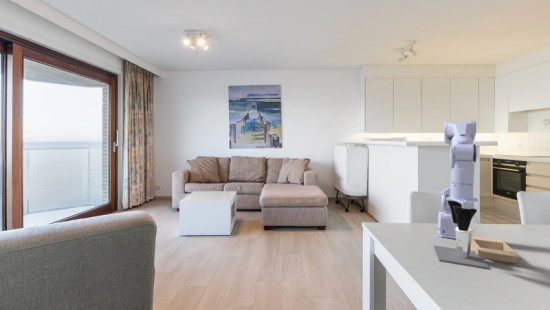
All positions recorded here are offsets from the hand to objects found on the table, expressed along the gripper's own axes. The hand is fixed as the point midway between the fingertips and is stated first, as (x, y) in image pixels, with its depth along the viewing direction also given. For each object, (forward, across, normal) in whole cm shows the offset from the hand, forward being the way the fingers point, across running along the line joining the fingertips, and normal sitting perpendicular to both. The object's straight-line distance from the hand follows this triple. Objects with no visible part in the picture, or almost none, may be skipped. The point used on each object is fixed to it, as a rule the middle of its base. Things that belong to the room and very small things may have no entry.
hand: (460, 226), depth 81 cm
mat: (+10, 0, 0) cm, 10 cm away
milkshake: (+9, 0, -1) cm, 9 cm away
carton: (+10, +7, -10) cm, 15 cm away
